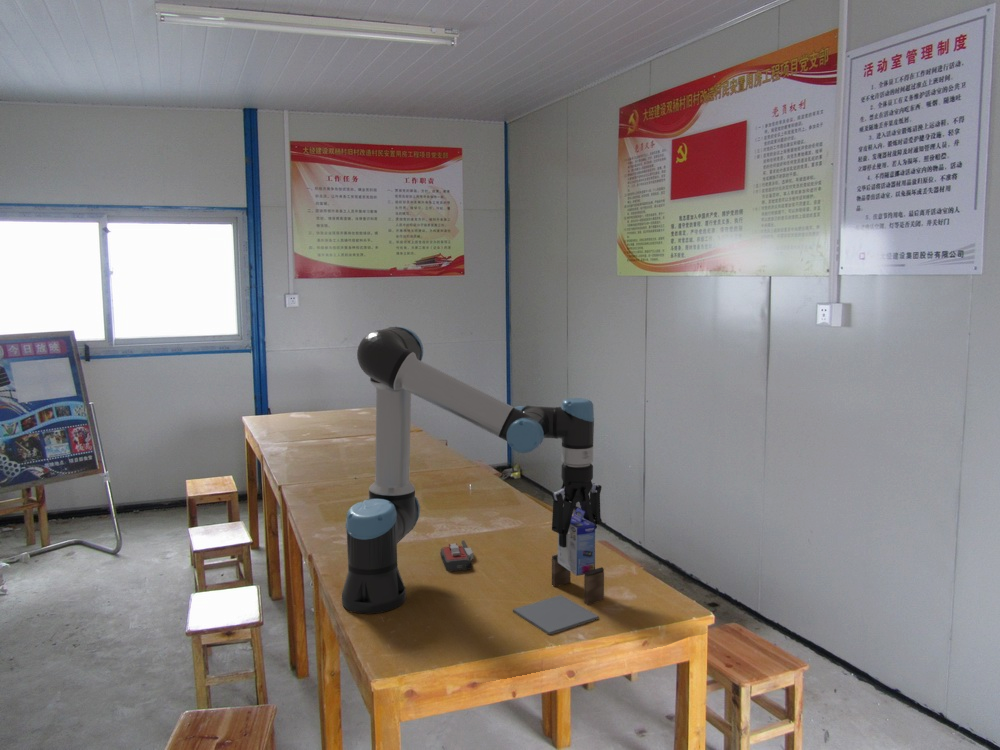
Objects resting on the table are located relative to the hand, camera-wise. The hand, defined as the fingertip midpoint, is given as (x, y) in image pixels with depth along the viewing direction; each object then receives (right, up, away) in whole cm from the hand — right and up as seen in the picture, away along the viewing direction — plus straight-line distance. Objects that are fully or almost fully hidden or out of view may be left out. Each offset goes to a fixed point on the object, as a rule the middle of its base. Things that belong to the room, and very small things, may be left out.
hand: (576, 556), depth 186 cm
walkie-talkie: (-30, -7, +25) cm, 40 cm away
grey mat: (-6, -11, -11) cm, 17 cm away
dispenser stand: (0, -9, +1) cm, 9 cm away
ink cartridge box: (0, -3, 0) cm, 3 cm away
